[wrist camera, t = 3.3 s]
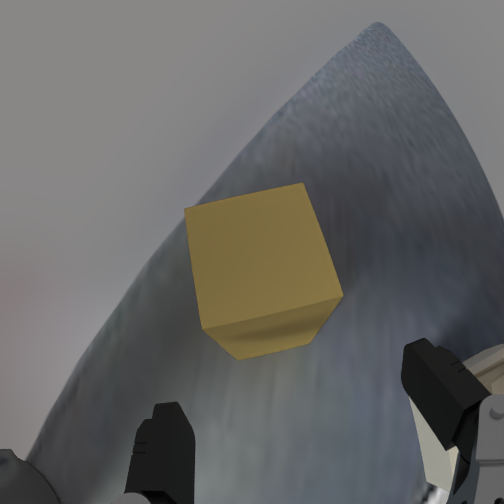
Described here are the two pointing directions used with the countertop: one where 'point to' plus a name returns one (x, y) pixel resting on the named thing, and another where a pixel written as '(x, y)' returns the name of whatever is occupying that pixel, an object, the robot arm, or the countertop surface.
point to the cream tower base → (433, 453)
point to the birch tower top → (493, 377)
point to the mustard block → (261, 271)
